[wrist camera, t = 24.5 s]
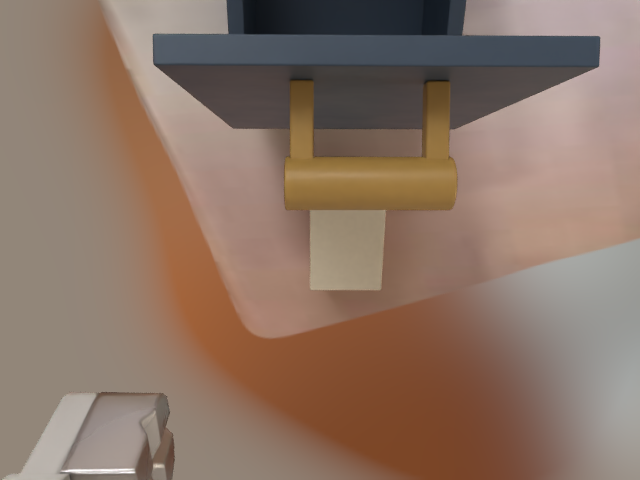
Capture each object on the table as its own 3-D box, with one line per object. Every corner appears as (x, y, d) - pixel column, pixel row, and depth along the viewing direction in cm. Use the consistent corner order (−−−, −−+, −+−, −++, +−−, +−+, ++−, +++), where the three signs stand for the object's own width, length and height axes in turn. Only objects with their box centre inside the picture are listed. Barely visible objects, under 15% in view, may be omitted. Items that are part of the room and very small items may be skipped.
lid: (151, 33, 15) (156, 212, 15) (601, 35, 15) (594, 212, 16) (232, 113, 30) (233, 201, 31) (455, 113, 31) (453, 202, 31)
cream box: (309, 175, 41) (309, 201, 36) (379, 175, 41) (386, 201, 37) (310, 258, 43) (309, 290, 39) (374, 258, 44) (381, 290, 39)
